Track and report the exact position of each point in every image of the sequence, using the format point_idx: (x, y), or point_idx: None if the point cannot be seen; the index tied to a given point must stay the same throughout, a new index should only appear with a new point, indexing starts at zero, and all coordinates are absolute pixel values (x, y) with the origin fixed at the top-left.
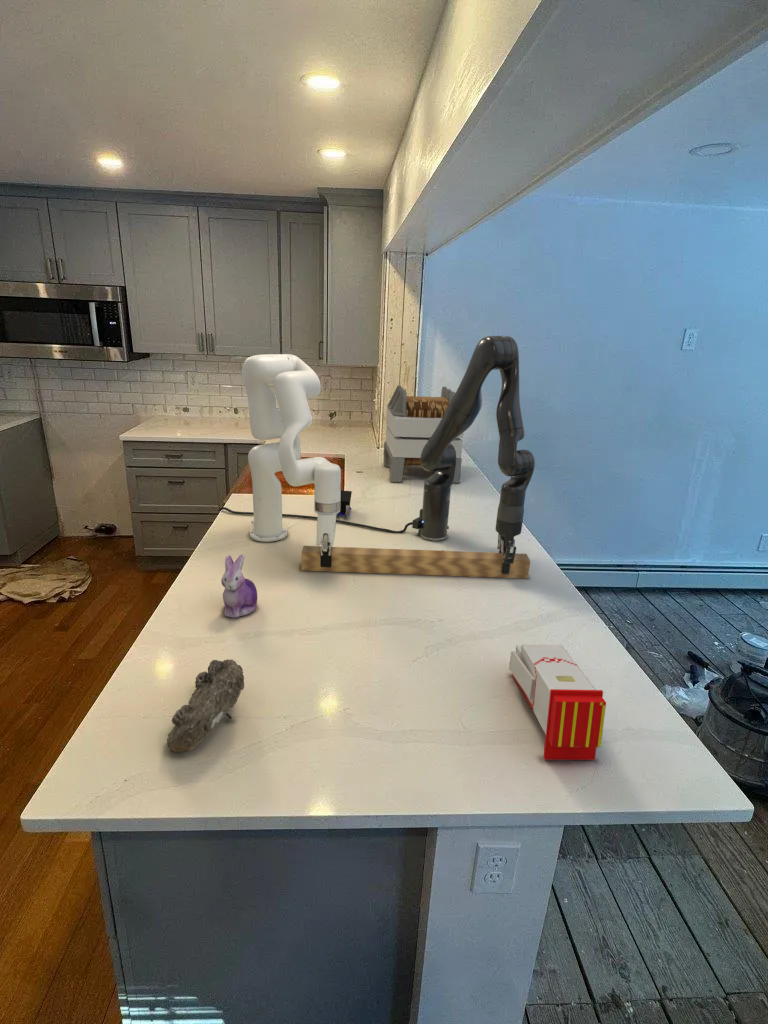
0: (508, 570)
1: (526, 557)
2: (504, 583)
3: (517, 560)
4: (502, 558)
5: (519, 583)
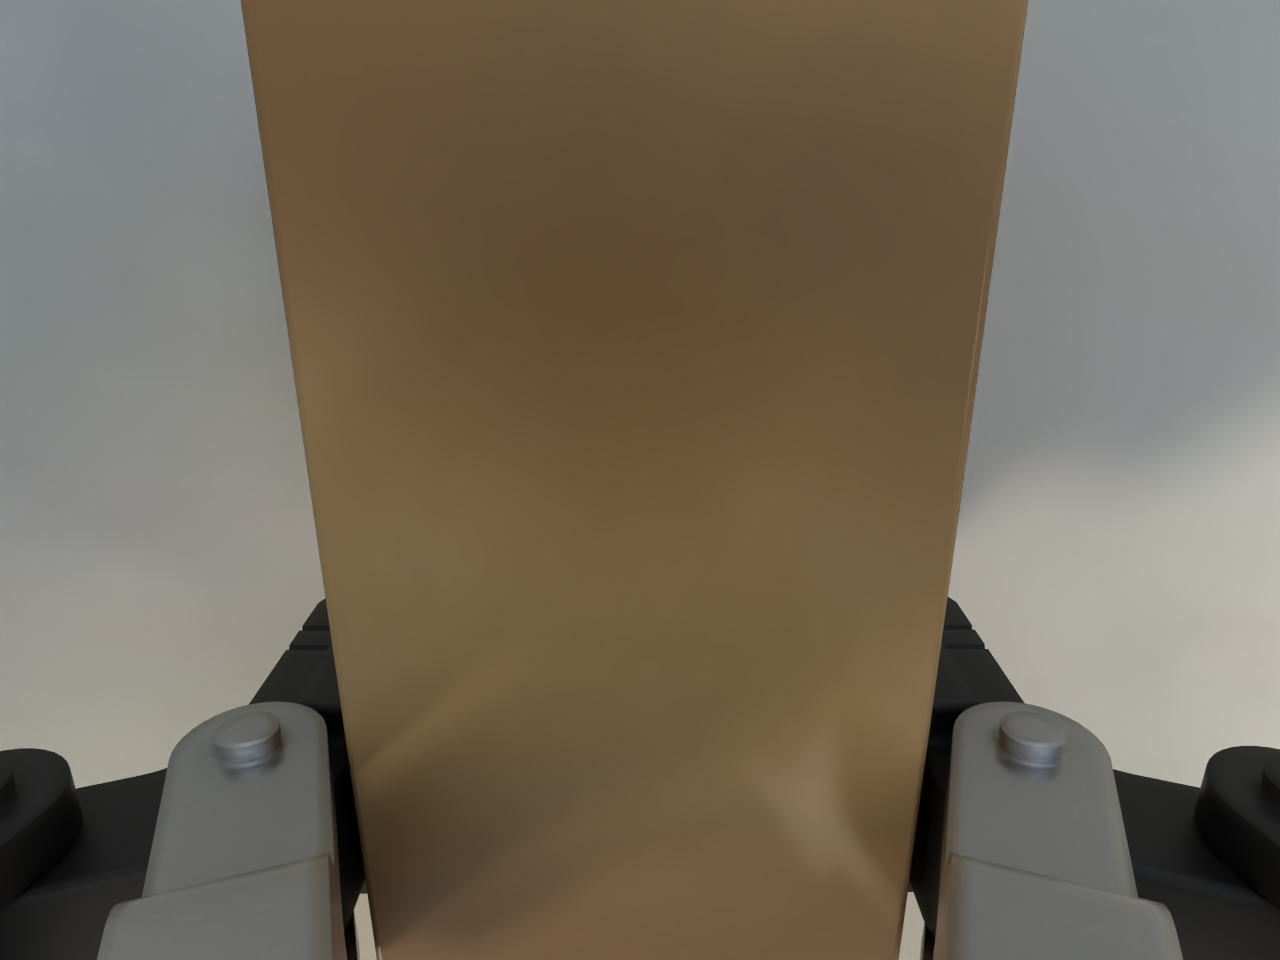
0: (963, 626)
1: (696, 35)
2: (1036, 596)
3: (951, 502)
4: (832, 956)
5: (1064, 297)
